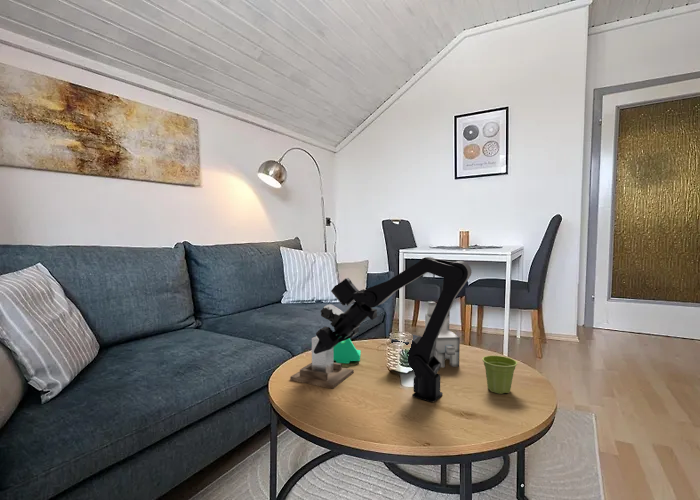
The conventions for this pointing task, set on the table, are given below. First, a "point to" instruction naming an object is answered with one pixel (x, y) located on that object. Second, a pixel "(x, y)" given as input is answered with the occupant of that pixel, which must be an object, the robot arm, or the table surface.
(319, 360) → the block
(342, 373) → the cradle
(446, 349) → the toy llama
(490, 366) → the plant pot
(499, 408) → the table surface
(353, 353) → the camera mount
